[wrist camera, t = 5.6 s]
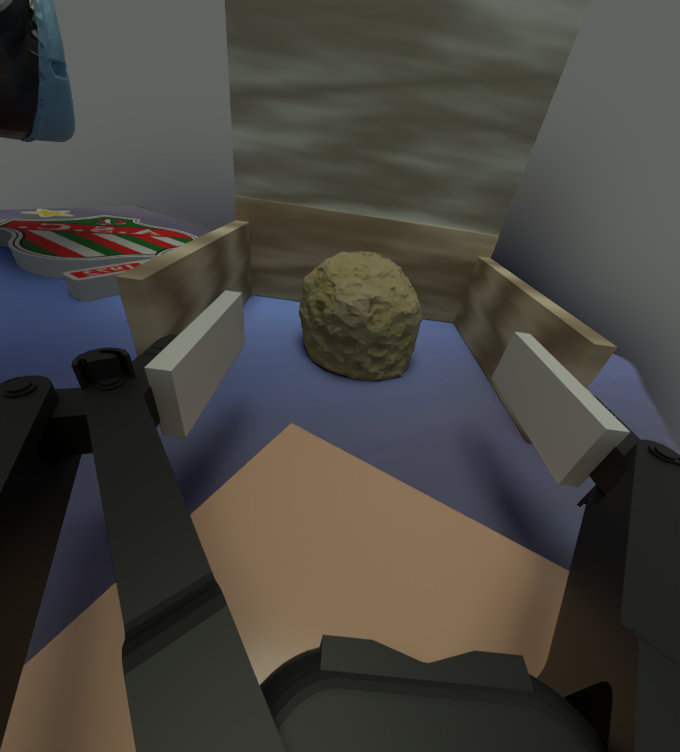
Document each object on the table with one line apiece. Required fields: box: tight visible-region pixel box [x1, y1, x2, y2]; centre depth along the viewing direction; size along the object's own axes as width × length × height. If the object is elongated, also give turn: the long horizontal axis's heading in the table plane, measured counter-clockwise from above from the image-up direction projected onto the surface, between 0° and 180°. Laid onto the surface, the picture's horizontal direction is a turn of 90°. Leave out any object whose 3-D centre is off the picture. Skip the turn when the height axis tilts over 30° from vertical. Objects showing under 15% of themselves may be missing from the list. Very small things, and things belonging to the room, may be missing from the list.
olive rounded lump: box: [299, 251, 423, 381], centre depth 24 cm, size 9×10×10 cm
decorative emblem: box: [0, 209, 198, 301], centre depth 38 cm, size 19×2×30 cm
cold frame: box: [115, 0, 617, 443], centre depth 19 cm, size 19×24×27 cm
